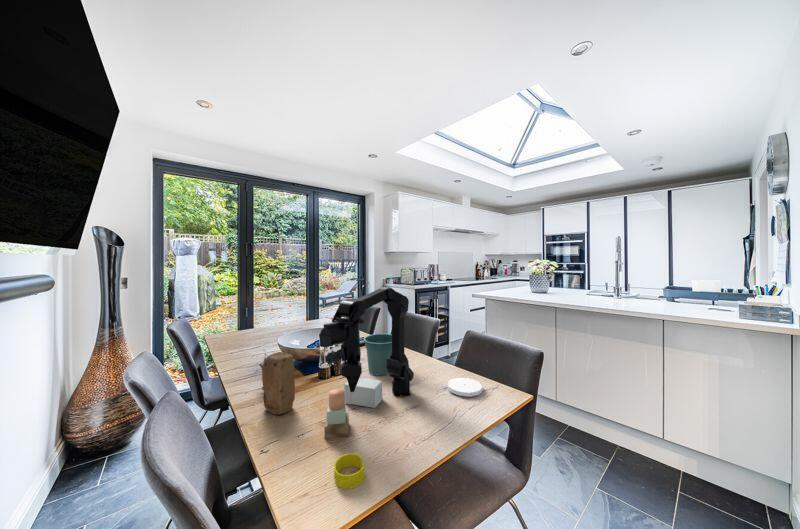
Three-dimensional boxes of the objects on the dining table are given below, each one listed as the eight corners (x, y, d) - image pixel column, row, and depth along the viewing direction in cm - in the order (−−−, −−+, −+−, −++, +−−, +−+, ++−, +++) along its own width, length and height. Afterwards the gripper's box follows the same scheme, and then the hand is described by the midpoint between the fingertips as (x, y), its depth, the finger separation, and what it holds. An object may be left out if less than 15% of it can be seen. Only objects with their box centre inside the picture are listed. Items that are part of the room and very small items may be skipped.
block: (297, 408, 105) (296, 353, 105) (279, 418, 99) (278, 360, 98) (277, 401, 111) (276, 349, 110) (259, 410, 104) (258, 355, 104)
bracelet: (337, 493, 67) (337, 479, 67) (331, 470, 74) (331, 458, 74) (368, 483, 70) (367, 470, 70) (359, 462, 77) (358, 450, 77)
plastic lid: (458, 401, 110) (458, 394, 110) (441, 386, 123) (441, 380, 123) (489, 395, 114) (489, 389, 114) (470, 381, 128) (470, 376, 127)
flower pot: (397, 378, 131) (397, 342, 131) (361, 378, 131) (361, 343, 131) (398, 364, 148) (398, 333, 147) (366, 365, 148) (366, 333, 148)
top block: (345, 413, 94) (345, 401, 94) (345, 423, 89) (345, 410, 89) (328, 415, 93) (328, 403, 93) (327, 424, 88) (326, 411, 88)
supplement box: (344, 403, 108) (374, 408, 104) (344, 383, 108) (374, 388, 104) (353, 395, 115) (382, 399, 111) (353, 376, 115) (382, 380, 111)
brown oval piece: (345, 401, 94) (345, 388, 94) (344, 409, 89) (344, 395, 89) (329, 402, 94) (329, 389, 93) (327, 410, 89) (327, 396, 89)
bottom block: (348, 424, 95) (348, 412, 95) (348, 437, 88) (347, 424, 88) (326, 426, 94) (326, 414, 94) (324, 439, 87) (324, 426, 87)
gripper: (328, 332, 103) (329, 375, 104) (322, 349, 85) (324, 402, 85) (359, 330, 105) (361, 373, 105) (361, 347, 86) (362, 398, 87)
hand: (352, 385), depth 96 cm, fingers open, 9 cm apart
